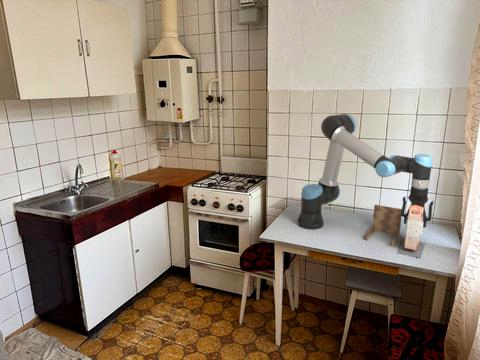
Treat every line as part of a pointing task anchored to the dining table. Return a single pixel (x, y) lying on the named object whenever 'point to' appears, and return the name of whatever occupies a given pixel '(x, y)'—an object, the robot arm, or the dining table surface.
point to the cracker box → (413, 227)
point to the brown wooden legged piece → (386, 221)
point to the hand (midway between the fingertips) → (413, 231)
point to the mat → (410, 252)
